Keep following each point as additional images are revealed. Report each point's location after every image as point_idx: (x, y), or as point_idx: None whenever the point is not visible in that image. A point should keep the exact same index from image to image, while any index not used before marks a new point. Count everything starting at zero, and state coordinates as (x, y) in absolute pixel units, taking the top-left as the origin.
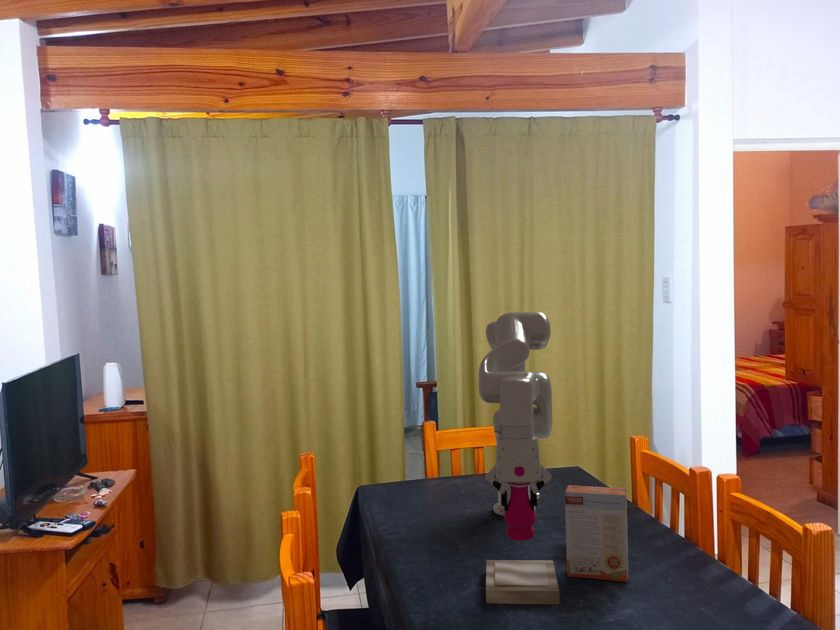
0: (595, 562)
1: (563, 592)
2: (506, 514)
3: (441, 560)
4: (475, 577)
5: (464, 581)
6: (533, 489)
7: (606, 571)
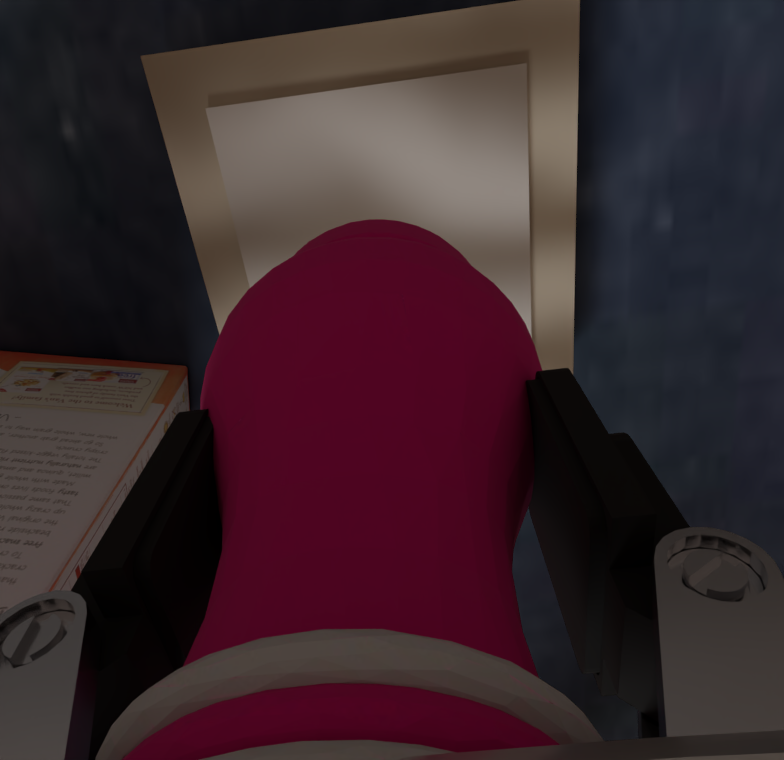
0: (11, 389)
1: (174, 203)
2: (528, 350)
3: (762, 441)
4: (611, 300)
5: (667, 250)
6: (53, 659)
7: None
